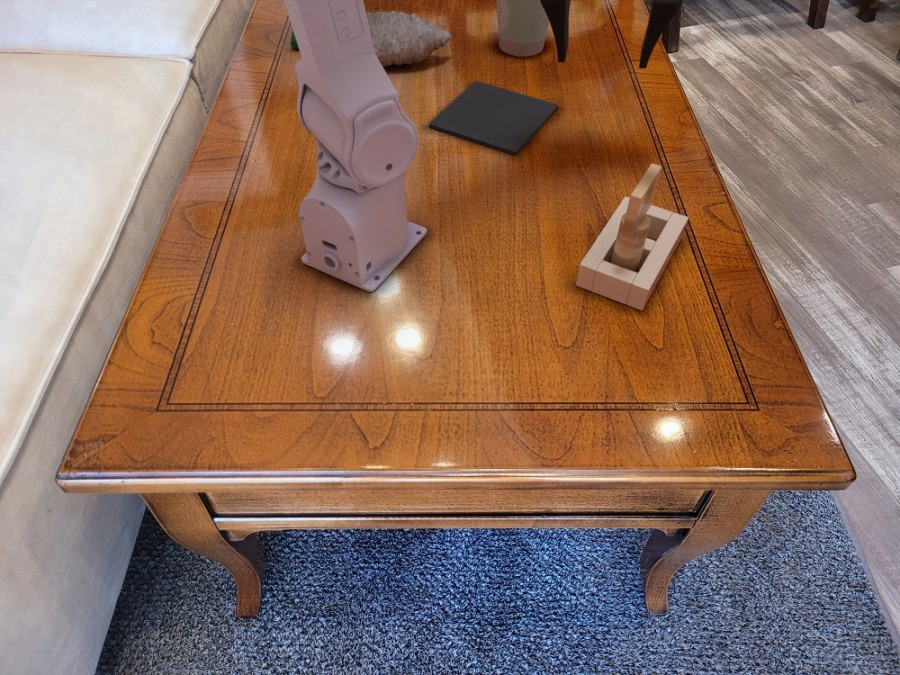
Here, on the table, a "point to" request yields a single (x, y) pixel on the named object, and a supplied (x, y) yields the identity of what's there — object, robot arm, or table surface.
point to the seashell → (404, 37)
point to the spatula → (636, 222)
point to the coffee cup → (521, 26)
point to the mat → (494, 117)
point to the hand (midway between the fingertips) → (602, 60)
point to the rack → (652, 264)
